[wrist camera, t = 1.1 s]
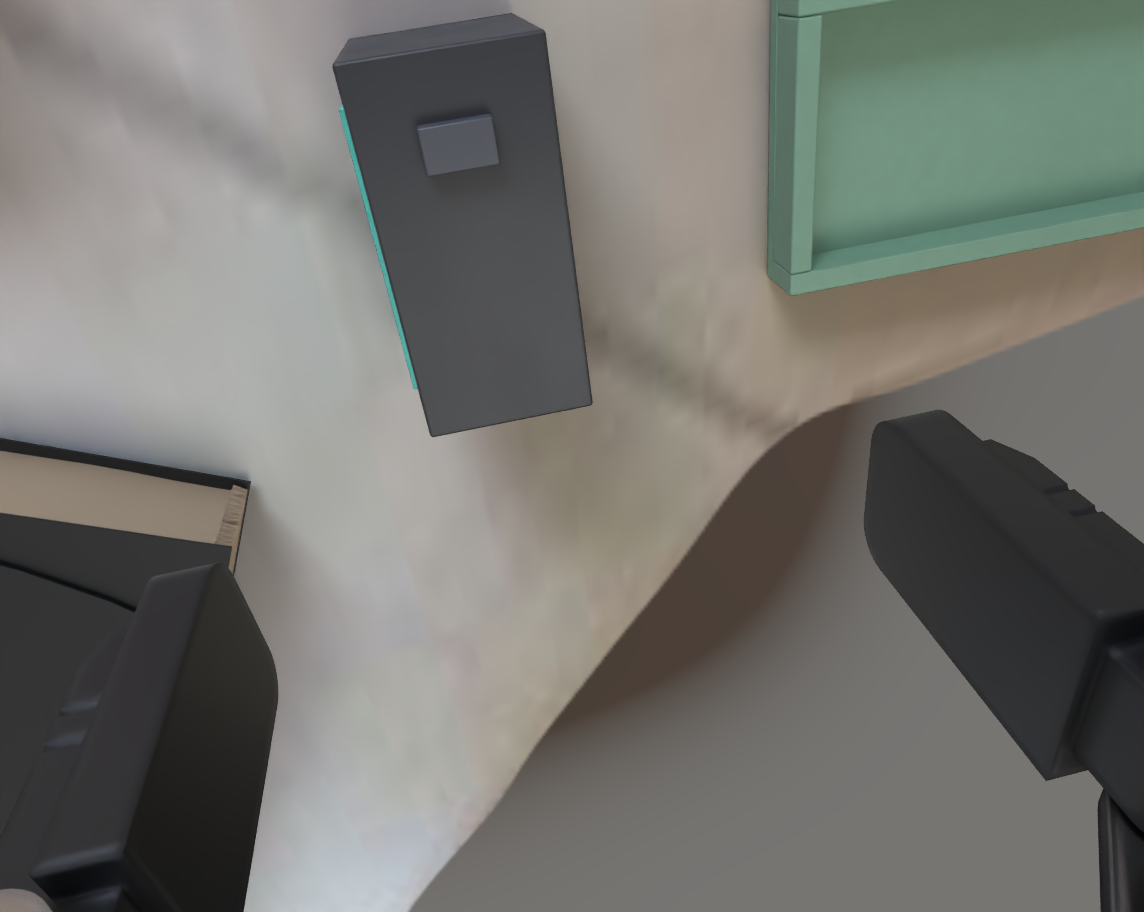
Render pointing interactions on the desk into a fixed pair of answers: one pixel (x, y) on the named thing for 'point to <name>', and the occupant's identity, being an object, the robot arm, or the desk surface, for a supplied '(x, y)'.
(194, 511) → the dark hardcover book
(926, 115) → the tray
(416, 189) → the grey tabbed box
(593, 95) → the desk surface
